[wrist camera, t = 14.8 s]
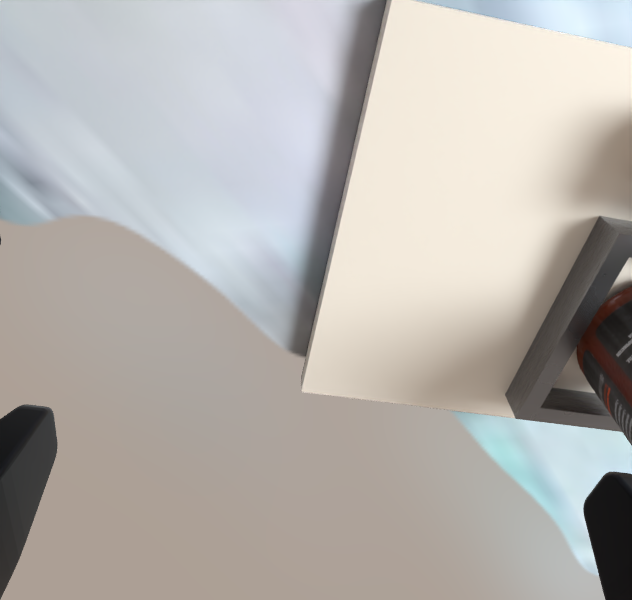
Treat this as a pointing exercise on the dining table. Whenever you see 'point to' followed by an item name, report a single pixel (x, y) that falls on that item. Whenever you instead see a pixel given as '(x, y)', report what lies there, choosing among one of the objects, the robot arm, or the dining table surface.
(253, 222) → the dining table surface
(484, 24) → the cream flat board
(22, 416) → the robot arm
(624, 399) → the supplement bottle
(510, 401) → the gray square frame
